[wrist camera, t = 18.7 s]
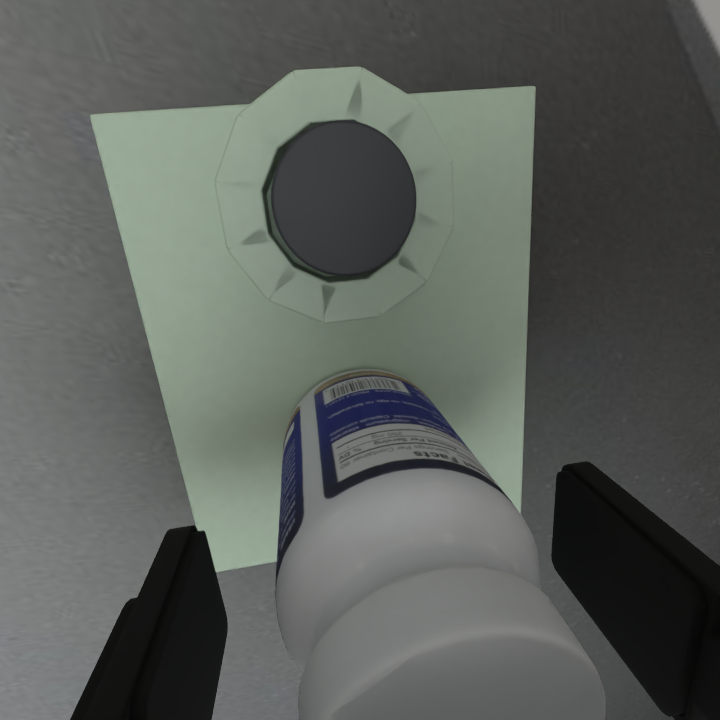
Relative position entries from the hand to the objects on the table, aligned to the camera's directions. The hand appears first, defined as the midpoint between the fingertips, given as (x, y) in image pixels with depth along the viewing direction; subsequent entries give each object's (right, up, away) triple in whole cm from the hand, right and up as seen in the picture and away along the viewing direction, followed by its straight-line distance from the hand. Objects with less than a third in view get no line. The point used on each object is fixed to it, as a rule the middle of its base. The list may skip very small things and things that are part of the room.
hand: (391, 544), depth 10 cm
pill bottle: (-1, +2, +6) cm, 6 cm away
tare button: (-1, +9, +2) cm, 9 cm away
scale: (-1, +5, +6) cm, 8 cm away
